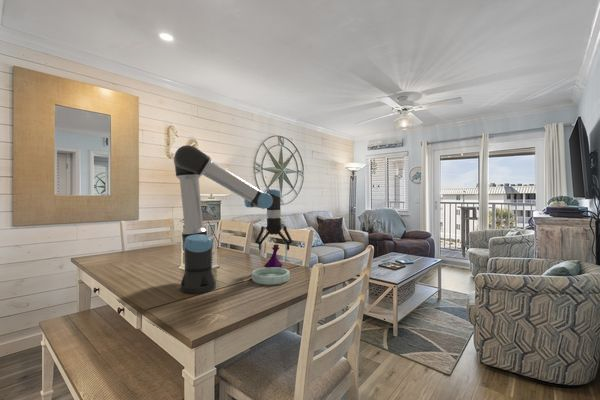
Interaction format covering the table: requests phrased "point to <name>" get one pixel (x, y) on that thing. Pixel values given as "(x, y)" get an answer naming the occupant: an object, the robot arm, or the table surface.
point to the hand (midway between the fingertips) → (274, 256)
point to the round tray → (270, 275)
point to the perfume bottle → (274, 257)
